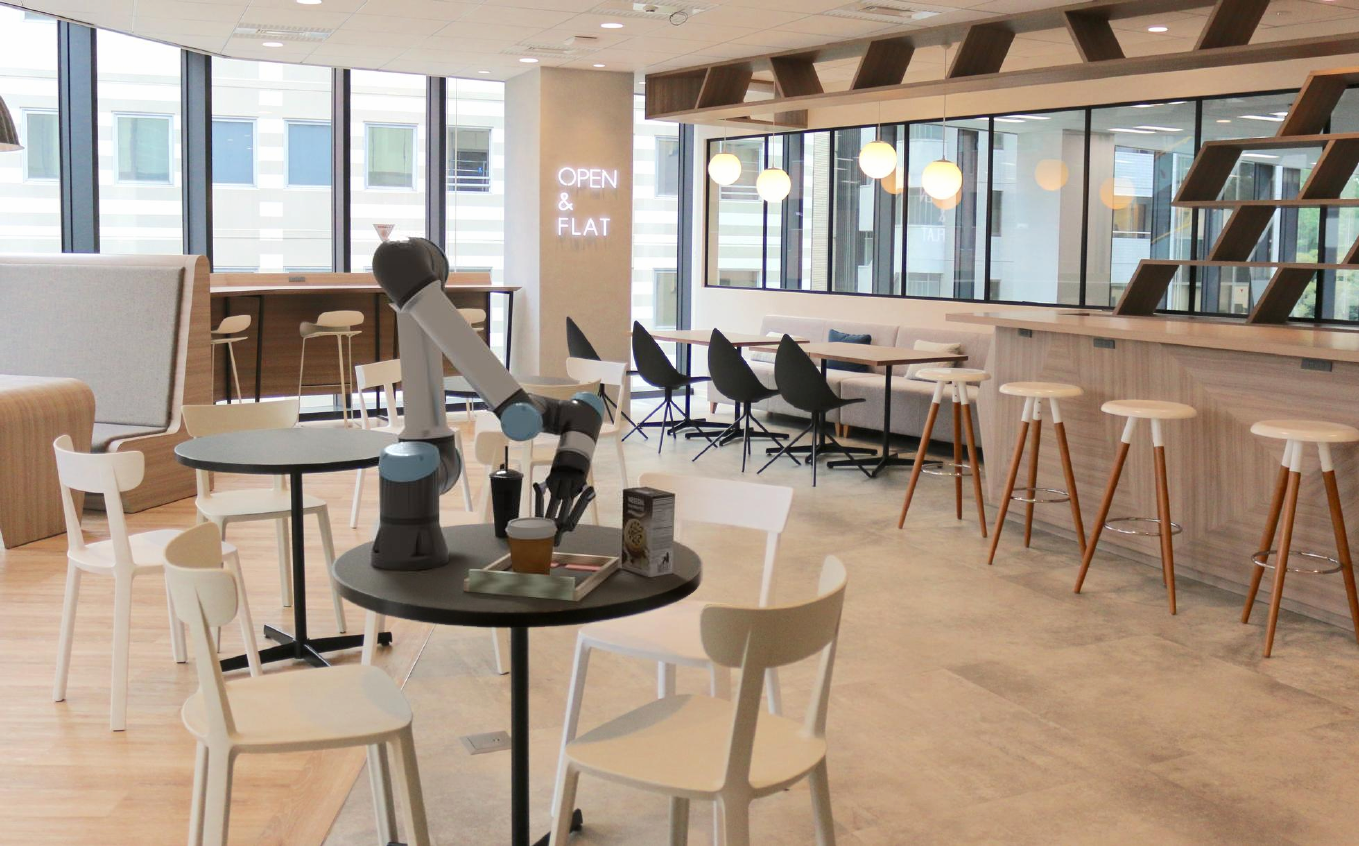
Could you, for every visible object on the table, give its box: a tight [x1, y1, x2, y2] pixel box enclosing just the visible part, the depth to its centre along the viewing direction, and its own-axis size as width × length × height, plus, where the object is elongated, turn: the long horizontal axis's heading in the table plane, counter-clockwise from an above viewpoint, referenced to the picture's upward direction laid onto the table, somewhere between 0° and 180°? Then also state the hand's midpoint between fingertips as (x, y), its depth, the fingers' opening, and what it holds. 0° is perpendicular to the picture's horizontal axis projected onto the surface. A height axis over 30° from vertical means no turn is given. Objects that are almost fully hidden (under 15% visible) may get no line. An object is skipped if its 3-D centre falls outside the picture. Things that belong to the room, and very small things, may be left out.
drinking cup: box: [488, 445, 525, 538], centre depth 261 cm, size 8×8×20 cm
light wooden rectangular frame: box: [463, 551, 620, 602], centre depth 226 cm, size 22×26×4 cm
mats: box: [550, 562, 603, 572], centre depth 236 cm, size 18×4×1 cm, turn 77°
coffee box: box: [621, 486, 676, 578], centre depth 233 cm, size 9×6×16 cm
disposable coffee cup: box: [506, 516, 557, 575], centre depth 220 cm, size 10×10×12 cm
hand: (544, 559), depth 225 cm, fingers closed
